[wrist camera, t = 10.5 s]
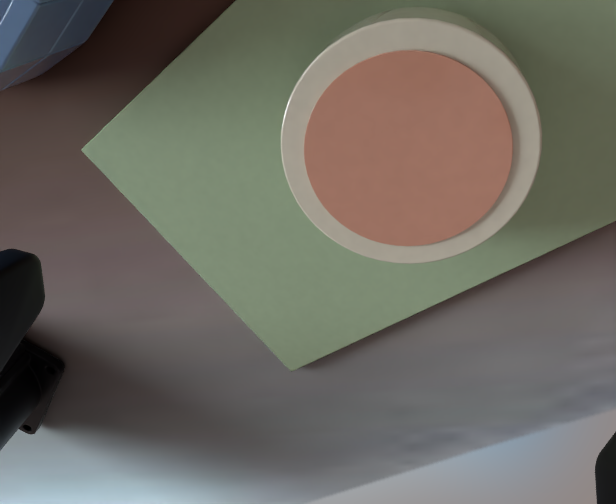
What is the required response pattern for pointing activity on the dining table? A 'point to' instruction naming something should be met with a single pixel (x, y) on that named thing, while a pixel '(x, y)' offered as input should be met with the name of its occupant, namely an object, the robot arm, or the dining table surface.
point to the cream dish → (412, 136)
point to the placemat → (280, 200)
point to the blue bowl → (42, 34)
